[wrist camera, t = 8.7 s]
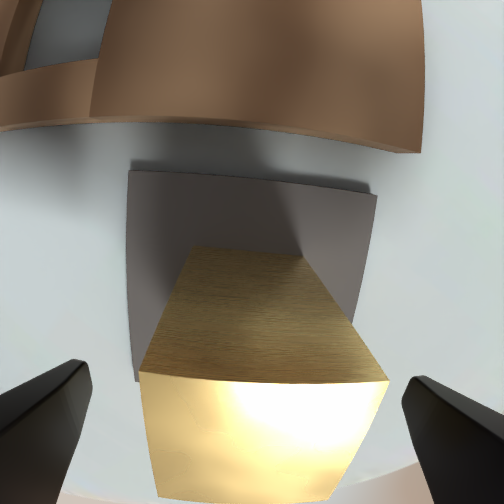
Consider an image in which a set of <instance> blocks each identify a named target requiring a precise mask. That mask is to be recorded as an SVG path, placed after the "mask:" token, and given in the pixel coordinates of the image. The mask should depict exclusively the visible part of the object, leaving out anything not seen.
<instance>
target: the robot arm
mask: <svg viewBox="0 0 504 504" xmlns="http://www.w3.org/2000/svg"><path fill="white" fill-rule="evenodd" d="M92 389H93V387H92V381H91V376H90V372H89V367H88V364H87V363H86V362H85V361H82V360H77V359H71V360H69V361H67V362H65V363H63V364H61V365H59V366H57V367H55V368H53V369H51V370H49V371H47V372H45V373H43V374H41V375H39V376H37V377H35V378H33V379H31V380H29V381H27V382H25V383H23V384H21V385H19V386H17V387H15V388H13V389H11V390H9V391H7V392H5V393H3V394H1V395H0V504H56V502H57V499H58V496H59V493H60V490H61V487H62V484H63V482H64V479H65V476H66V473H67V470H68V468H69V465H70V462H71V459H72V457H73V454H74V452H75V449H76V446H77V444H78V441H79V438H80V435H81V431H82V428H83V424H84V420H85V416H86V412H87V409H88V405H89V402H90V398H91V395H92ZM402 408H403V411H404V415H405V418H406V422H407V425H408V429H409V433H410V436H411V440H412V443H413V446H414V449H415V452H416V455H417V457H418V460H419V462H420V465H421V468H422V470H423V473H424V476H425V479H426V481H427V484H428V487H429V490H430V493H431V495H432V499H433V501H434V504H504V415H502V414H500V413H498V412H496V411H494V410H492V409H490V408H488V407H486V406H484V405H482V404H480V403H478V402H476V401H474V400H472V399H470V398H468V397H466V396H464V395H462V394H460V393H458V392H456V391H454V390H452V389H450V388H448V387H446V386H444V385H442V384H440V383H438V382H436V381H434V380H432V379H431V378H429V377H427V376H424V375H421V376H414V377H412V378H411V379H410V381H409V383H408V385H407V388H406V390H405V392H404V394H403V397H402Z"/></svg>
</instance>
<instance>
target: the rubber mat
mask: <svg viewBox="0 0 504 504" xmlns="http://www.w3.org/2000/svg"><path fill="white" fill-rule="evenodd" d="M376 202H377V195H373V194H368V193H362V192H356V191H349V190H343V189H336V188H329V187H322V186H315V185H307V184H299V183H291V182H282V181H274V180H265V179H255V178H245V177H234V176H222V175H210V174H196V173H181V172H163V171H140V170H131V171H129V173H128V191H127V222H126V264H127V294H128V313H129V327H130V339H131V350H132V360H133V369H134V377H135V382H139V372H138V371H139V369H140V366H141V364H142V361H143V359H144V356H145V354H146V351H147V349H148V346H149V344H150V342H151V339H152V337H153V335H154V332H155V330H156V327H157V325H158V323H159V320H160V318H161V316H162V313H163V311H164V309H165V307H166V304H167V302H168V300H169V297H170V295H171V293H172V291H173V288H174V286H175V284H176V282H177V280H178V277H179V275H180V273H181V271H182V269H183V266H184V264H185V262H186V260H187V258H188V256H189V253H190V251H191V249H192V247H193V246H203V247H214V248H224V249H235V250H245V251H255V252H266V253H276V254H287V255H297V256H304V258H305V259H306V260H307V262H308V263H309V265H310V266H311V267H312V269H313V270H314V272H315V273H316V274H317V276H318V277H319V279H320V280H321V281H322V283H323V284H324V286H325V287H326V288H327V290H328V291H329V293H330V294H331V295H332V297H333V298H334V300H335V301H336V303H337V304H338V305H339V307H340V308H341V310H342V311H343V313H344V314H345V316H346V317H347V318H348V320H349V321H350V323H351V324H352V321H353V317H354V313H355V309H356V305H357V301H358V296H359V292H360V288H361V283H362V278H363V274H364V269H365V264H366V259H367V254H368V249H369V244H370V238H371V233H372V227H373V221H374V215H375V208H376Z"/></svg>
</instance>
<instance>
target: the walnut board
mask: <svg viewBox="0 0 504 504" xmlns="http://www.w3.org/2000/svg"><path fill="white" fill-rule="evenodd" d="M42 2H43V0H0V132H3V131H10V130H17V129H25V128H34V127H44V126H55V125H68V124H84V123H110V122H164V123H191V124H208V125H222V126H234V127H244V128H254V129H263V130H271V131H279V132H287V133H294V134H301V135H307V136H314V137H320V138H326V139H331V140H337V141H342V142H348V143H353V144H358V145H363V146H367V147H372V148H377V149H381V150H385V151H390V152H394V153H421V145H422V133H423V117H424V93H425V53H424V30H423V16H422V4H421V0H113V1H112V4H111V8H110V11H109V15H108V19H107V22H106V26H105V30H104V35H103V39H102V43H101V48H100V53H99V57H98V58H97V59H88V60H80V61H73V62H67V63H61V64H55V65H50V66H44V67H39V68H35V69H30V70H26V71H24V66H25V62H26V57H27V53H28V49H29V45H30V41H31V37H32V34H33V30H34V27H35V24H36V20H37V17H38V14H39V11H40V8H41V5H42Z"/></svg>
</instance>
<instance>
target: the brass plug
mask: <svg viewBox="0 0 504 504" xmlns="http://www.w3.org/2000/svg"><path fill="white" fill-rule="evenodd" d="M138 372H139V382H140V391H141V399H142V407H143V415H144V422H145V429H146V435H147V442H148V448H149V453H150V459H151V464H152V469H153V474H154V479H155V484H156V489H157V493H158V497H162V498H169V499H176V500H184V501H193V502H204V503H218V504H288V503H303V502H314V501H323V500H328V499H329V497H330V496H331V494H332V493H333V491H334V490H335V488H336V486H337V485H338V483H339V481H340V480H341V478H342V476H343V475H344V473H345V471H346V469H347V468H348V466H349V464H350V462H351V461H352V459H353V457H354V455H355V453H356V451H357V449H358V448H359V446H360V444H361V442H362V440H363V438H364V436H365V434H366V432H367V430H368V428H369V426H370V424H371V422H372V420H373V418H374V416H375V413H376V411H377V409H378V407H379V405H380V402H381V400H382V398H383V396H384V393H385V391H386V389H387V386H388V384H389V382H390V381H389V379H388V378H387V376H386V375H385V373H384V372H383V370H382V369H381V367H380V366H379V364H378V363H377V361H376V360H375V358H374V357H373V355H372V354H371V352H370V351H369V349H368V348H367V346H366V345H365V343H364V342H363V340H362V339H361V337H360V336H359V334H358V333H357V331H356V330H355V329H354V327H353V326H352V324H351V323H350V321H349V320H348V318H347V317H346V316H345V314H344V313H343V311H342V310H341V308H340V307H339V305H338V304H337V303H336V301H335V300H334V298H333V297H332V295H331V294H330V293H329V291H328V290H327V288H326V287H325V286H324V284H323V283H322V281H321V280H320V279H319V277H318V276H317V274H316V273H315V272H314V270H313V269H312V267H311V266H310V265H309V263H308V262H307V260H306V259H305V258H304V256H297V255H287V254H276V253H266V252H255V251H245V250H235V249H224V248H214V247H203V246H193V247H192V249H191V251H190V253H189V256H188V258H187V260H186V262H185V264H184V266H183V269H182V271H181V273H180V275H179V277H178V280H177V282H176V284H175V286H174V288H173V291H172V293H171V295H170V297H169V300H168V302H167V304H166V307H165V309H164V311H163V313H162V316H161V318H160V320H159V323H158V325H157V327H156V330H155V332H154V335H153V337H152V339H151V342H150V344H149V346H148V349H147V351H146V354H145V356H144V359H143V361H142V364H141V366H140V369H139V371H138Z"/></svg>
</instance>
